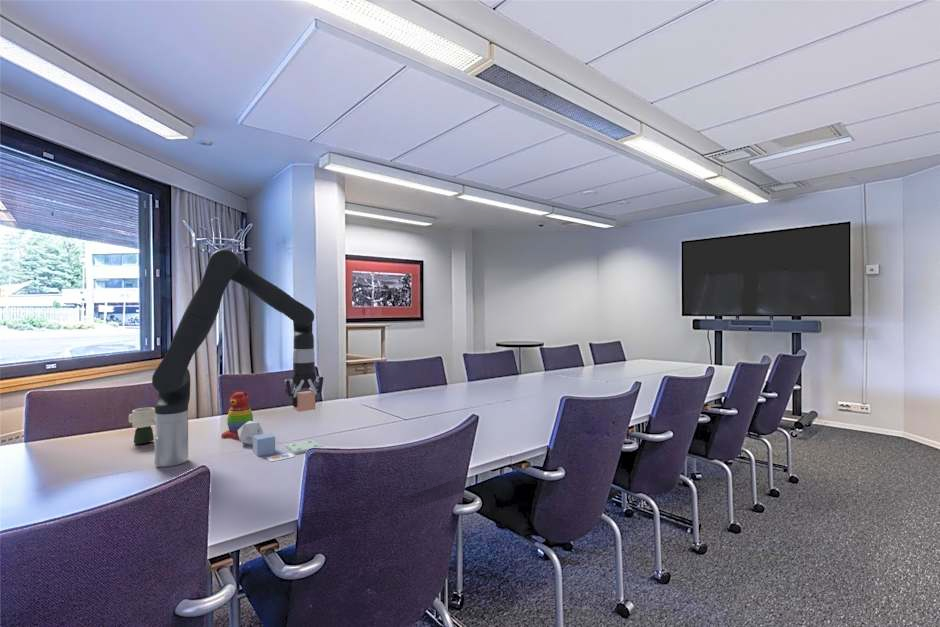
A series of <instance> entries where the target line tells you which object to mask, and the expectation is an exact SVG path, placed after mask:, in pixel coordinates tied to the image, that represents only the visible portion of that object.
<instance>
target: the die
mask: <svg viewBox="0 0 940 627" xmlns="http://www.w3.org/2000/svg"><path fill="white" fill-rule="evenodd" d="M237 431H238V435H239V439H238V440H239V441H241V443H242V444H245V445H251V446H253V436H254V435H260V434H264V430H263V428H262V425H261V424H260V422H259V421H254V420H253V421H248V422H247V423H245V424H244V425H243V426H242V427H241V428H240V429H238V430H237Z"/></svg>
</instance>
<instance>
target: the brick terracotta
mask: <svg viewBox="0 0 940 627" xmlns="http://www.w3.org/2000/svg"><path fill="white" fill-rule="evenodd" d="M293 409H294V410H295V411H297V412H299V413H300V412H306V411H312V410H313V411H314V410H316V403H315V393H314V392H311V391H310V390H306V391H299V392H298V394H297V407H296V408H295V407H294V406H293Z"/></svg>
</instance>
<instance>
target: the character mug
mask: <svg viewBox="0 0 940 627" xmlns="http://www.w3.org/2000/svg"><path fill="white" fill-rule="evenodd" d="M128 423H129V424H130V423H131V424H132V425H131V426H132V428H134V429H135V428H136V429H135V431H134V436H133V443H134V444H136V445H142V444H149V443H151V442H152V441H155V435H154V430H153V426H155V407H150V406H149V407H140V408H135V409H133V410H132V413H129V414H128Z"/></svg>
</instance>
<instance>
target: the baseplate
mask: <svg viewBox="0 0 940 627" xmlns="http://www.w3.org/2000/svg"><path fill="white" fill-rule="evenodd" d="M313 447H322V448H323V445H321V444H320V443H318V442H317V441H315V440H313V439H311V440H305V441H298V442H293V443H289V444H285V448H286V449H288V450H289V451H290V453H293V455H298V454H302V453H307V452H306V451H307V449H309V448H313Z"/></svg>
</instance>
